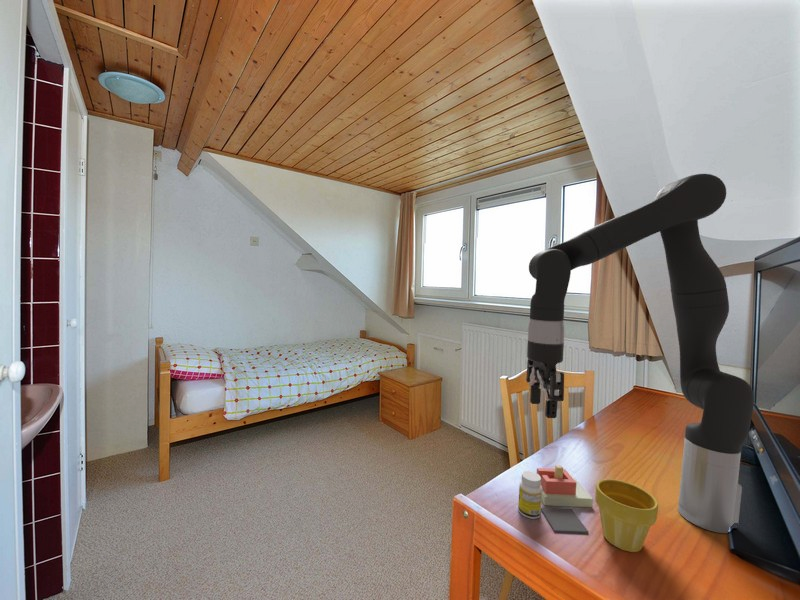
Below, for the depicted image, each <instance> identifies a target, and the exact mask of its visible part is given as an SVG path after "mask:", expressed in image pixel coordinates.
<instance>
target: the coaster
mask: <svg viewBox="0 0 800 600" xmlns="http://www.w3.org/2000/svg"><path fill="white" fill-rule="evenodd" d="M541 513H542V514H543V516H544V518H545V519H546V521H547V522H548V524H549V526H550V527H551V529H552V530H553V532H554V533H565V534H566V533H568V534H569V533H570V534H589V530H588V529H587V528H586V526H585V525H584V523H583V522H582V520H581V519H580V518H579V517H578V515H577V514H576V513H575V511H574V510H573V508H558V507H557V508H555V507H541Z"/></svg>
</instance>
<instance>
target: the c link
mask: <svg viewBox="0 0 800 600" xmlns="http://www.w3.org/2000/svg"><path fill="white" fill-rule="evenodd" d="M536 473H537V474H538V475H540V477H541V486H542V489H543V491H544V492H545V494H564V495H576V483H577V482H576V481H575V480H574V479H575V478H573V477H572V476H571V474H570V473H569V472H568V471H567V470H566V468H565V469H564V468H563V479H554V474H555V468H547V467H546V468H541V467H540V468H539V467H538V468H536Z"/></svg>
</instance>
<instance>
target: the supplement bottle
mask: <svg viewBox="0 0 800 600" xmlns="http://www.w3.org/2000/svg"><path fill="white" fill-rule="evenodd" d="M520 479H521V480H520V482H519V486H518V487H519V488H518V489H519V490H518V493H519V494H518V507H517V509H518V512H519V513H520V515H522V516H523V517H525V518H528V519H532V520H536V519H538V518H540V517H541V513H542V511H541V508H542V486H541V477H540V475H538V474H537V472H535V471H532V470H525V471H523V472H522V473H521V478H520Z"/></svg>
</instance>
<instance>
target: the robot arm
mask: <svg viewBox="0 0 800 600" xmlns="http://www.w3.org/2000/svg"><path fill="white" fill-rule="evenodd" d="M726 198H727V187H726V184H725V182H724V181H723V180H722V179H721V178H720V177H718V176H716V175H714V174H712V173H698V174H691V175H689V176H685V177H683V178H680V179H678V180H676V181H673V182H670V183H668V184H666V185H664V186H663V187H662V188H661V189H660V190H659V191H658V192H657V193H656V196H655V198H654V200H653V201H651V202H649V203H647V204H645V205H643V206H641V207H639V208H637V209H633V210H632V211H629V212H626V213H624V214H622V215H618V216H616V217H614V218H612V219H608V220H607V221H604V222H602V223H600V224H597V225H595V226H593V227H591V228H588V229H587V230H584V231H583V232H581V233H578V234H576V236H573V237H572V238H570V239H568V240H567V241H566V240H565V241H563V242H561V243H558V244H556V245H553V246H551V247H548V248H547V249H544V250H542V251H539V252H538V253H536V254H535V255H533V257H532V258H531V259H530V261H529V264H528V271H529V272H528V273H529V274H530V276H532V278H533V279H535V280H536V281H535V292H534V293H533V295H532V297H531V298H530V303H529V304H530V305H529V306H530V307H529V323H528V326H527V327H528V328H527V344H526V345H527V346H526V347H527V350H526V357H527V361H526V363H527V364H526V365H527V366H526V377H525V378H526V383H528V386H529V388H530V390H529V391H530V392H529V393H530V395H529V403H530V404H532V405H539V404H540V403H541V394H542V391H543V392H544V396H545V406H544V407H545V408H544V416H545V417H546V418H547V419H556V418H557V415H558V414H557V413H558V402H563V401H564V400H565V399H564V397H565V372H562V371H561V372H558V371H557V365H558V364H560V363H562V362H563V361H564V351H565V350H564V348H565V347H564V345H565V323H564V321H565V319H564V318H565V298H566V296H567V292H568V288H569V285H570V279H571V272H572V271H573V270H574V269H577V268H579V267H585V266H589V265H591V264H594V263H595V262H598V261H600V260H603V259H604V258H607V257H609V256H611V255H613V254H615V253H617V252H619V251H621V250H623V249H625V248H627V247H629V246H631V245H634V244H635V243H637V242H640V241H643V239H646V238H648V237H651V236H653V235H655V234H657V233H660V237H661V239H662V243H663V248H664V253H665V260H666V267H667V271H668V278H669V285H670V293H671V302H672V307H673V313H674V317H675V325H676V334H677V340H678V347H679V348H678V349H679V381H680V382H679V383H680V389H681V392H682V395H683V396H684V398H685V399H686V400H687V401H688V402H689V403H690V404H692V405H693V406H695V407H697V408H699V409H700V410H701V409H702V410H703V411H702V416H701V421H700V422H691V423H688V424H687V425H686V426H685V429H684V441H683V442H684V443H683V450H682V451H683V453H682V462H681V463H682V464H681V470H680V471H681V473H680V484H679V494H678V505H677V510H678V513H679V515H681V516H682V517H683V518H684V519H685V520H686V521H688V522H690V523H691V524H694V525H695V526H697V527H700V528H701V529H705V530H707V531H710V532H713V533H718V534H729V533H728V530H729V527H731V526H732V525H733V524H734V523H738V524H739V520H740V518H739V517H740V509H741V499H742V491H743V487H742V485H741V484H739V473H740V468H741V466H740V465H741V457H742V448H743V445H744V443H745V442H746V441H747V439H748V438H749V437H748V436H749V434H750V429H751V422H752V417H753V411H754V406H755V405H754V404H755V396H754V391H753V389H752V386H751V385H750V383H748V382H747V381H746V380H745V379H743V378H741V377H739V376H737V375H734V374H730V373H727V372H723V371H721V370H720V366H719V362H718V356H717V341H718V337H719V336H720V334H721V331H722V330H723V328H724V326H725V324H726V321H727V320H728V315H729V313H730V301H729V295H728V288H727V283H726V279H725V277H724V275H723V273H722V271H721V270H720V268H719V266H718V265H717V264H716V263H715V261H714V260H713V258H712V257H711V256H710V254H709V253H708V252H707V250H706V249H705V247H704V245H703V243H702V240H701V239H702V238H701V236H700V229H699V220H701V219H705V218H707V217H709V216H711V215H713V214H714V213H716V212H717V211H718V210H719V209H720V208H721V207H722V206H723V204H724V203H725V200H726Z"/></svg>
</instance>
